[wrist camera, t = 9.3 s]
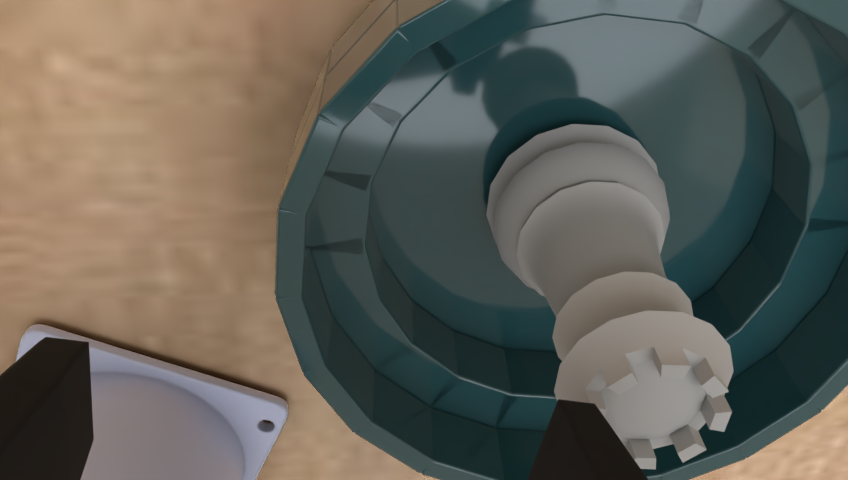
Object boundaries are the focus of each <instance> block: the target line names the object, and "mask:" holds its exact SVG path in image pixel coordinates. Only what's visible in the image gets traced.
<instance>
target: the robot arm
mask: <svg viewBox="0 0 848 480" xmlns="http://www.w3.org/2000/svg"><path fill="white" fill-rule="evenodd" d="M288 410H289V406H288V403H287V402H286V401H285V400H284V399H282V398H280V397H278V396H275V395H271V394H268V393H265V392H262V391H258V390H255V389H252V388H249V387H245V386H242V385H239V384H236V383H232V382H229V381H226V380H223V379H219V378H216V377H213V376H210V375H206V374H203V373H200V372H197V371H193V370H190V369H187V368H184V367H180V366H177V365H174V364H171V363H167V362H164V361H161V360H158V359H154V358H151V357H148V356H145V355H141V354H138V353H135V352H132V351H128V350H125V349H122V348H119V347H115V346H112V345H109V344H106V343H102V342H99V341H96V340H93V339H89V338H86V337H83V336H80V335H76V334H73V333H70V332H67V331H63V330H60V329H57V328H54V327H50V326H47V325H42V324H36V325H32V326H30V327H28V328H27V330H26V331H25V333H24V335H23V336H22V338H21V341H20V345H19V349H18V353H17V356H16V360H15V363H14V364H13V365H12V366H10V367H9V368H8V369H7V370H6V371H5V372H4V373H2V374H1V375H0V480H256V478H257V476H258V474H259V472H260V470H261V468H262V466H263V464H264V462H265V460H266V459H267V457H268V455H269V453H270V451H271V449H272V447H273V445H274V443H275V441H276V439H277V437H278V435H279V433H280V431H281V429H282V427H283V425H284V424H285V422H286V420H287V416H288ZM263 420H269V421H271V423H265V422H263ZM527 480H648V479H647V477H646V476H645V474H644V473H643V472H642V470H641V469H640V467H639V466H638V464H637V463H636V462H635V460H634V459H633V457H632V456H631V455H630V453H629V452H628V450H627V449H626V447H625V446H624V444H623V443H622V442H621V440H620V439H619V437H618V436H617V434H616V433H615V432H614V430H613V429H612V427H611V426H610V424H609V423H608V421H607V420H606V419H605V417H604V416H603V414H602V413H601V411H600V410H599V409H598V407H597V406H596V404H594V403H586V402H577V401H569V400H561V399H558V401H557V404H556V406H555V409H554V411H553V414H552V417H551V419H550V422H549V424H548V427H547V430H546V432H545V435H544V437H543V440H542V443H541V445H540V448H539V450H538V453H537V456H536V458H535V461H534V463H533V466H532V469H531V471H530V474H529V477H528V479H527Z"/></svg>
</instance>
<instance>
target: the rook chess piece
mask: <svg viewBox="0 0 848 480" xmlns="http://www.w3.org/2000/svg"><path fill="white" fill-rule="evenodd" d="M486 215H487V218H488V221H489V224H490V227H491V230H492V233H493V237H494V240H495V242H496V244H497V247H498V250H499V253H500V256H501V259H502V261H503V262H504V263H505V264H506V265H507V267H508V268H509V269H510V270H511V271H512V272H513V273H514V274H515V275H516V276H517V277H518V278H519V279H520V280H521V281H522V282H523V283H524V284H525V285H526V286H528V287H530V288H532V289H535V290H536V291H537V292H538V293H539V294H540V295H542V296H544V297H546V299H547V301H548V303H549V305H550V307H551V309H552V311H553V312H554V314H555V316H556V322H555V327H554V331H553V336H552V338H553V342H554V345H555V348H556V351H557V355H558V357H559V358H560V359H561V360H562V363H561V364H560V366H559V371H558V375H557V380H556V384H555V389H554V393H555V396H556V399H557V401H558V399H561V400H569V401H577V402H586V403H594V404H596V406H597V407H598V409H599V410H600V411H601V413H602V414H603V416H604V417H605V419H606V420H607V421H608V423H609V424H610V426H611V427H612V429H613V430H614V432H615V433H616V434H617V436H618V437H619V439H620V440H621V442H622V443H623V444H624V446H625V447H626V449H627V450H628V452H629V453H630V455H631V456H632V457H633V459H634V460H635V462H636V463H637V464H638V466H639V467H640V469H656V456H655V453H654V451H653V449H655V448H659V447H664V446H668V445H672V444H674V446H675V448H676V451H677V453H678V455H679V457H680V459H681V461H682V462H685V461H687V460H689V459H691V458H693V457H695V456H696V455H698V454H700V453H702V452H704V451H706V450H707V449H706V447H705V445H704V443H703V440H702V438H701V436H700V434H699V430H700V428H701V427H702V426H703V425H704V424H705V423H707V425H708V428H709V429H711V430H716V431H721V432H724V431H725V429H726V426H727V423H728V421H729V418H730V416H731V413H732V410H731V408H730V406H729V404H728V402H727V401H726V399H725V397H724V395H725V393H727V392H729V391H728V389H727V387H728V385H729V382H730V379H731V377H732V374H733V371H734V370H733V363H732V357H731V350H730V345H729V344H728V343H727V342H726V340H725V339H724V338H723V337H722V336H721V334H720V333H719V332H718V331H717V330H716V329H715V327H714V326H713V325H712V324H710V323H707V322H705V321H703V320H700V319H698V318H696V317H693V311H692V305H691V300H690V299H689V298H688V297H687V295H686V294H685V293H684V292H683V291H682V289H681V288H680V287H679V286H678V285H677V284H676V283H675V282H673V281H670V280H668V279H667V277H666V275H665V272H664V268H663V265H662V261H661V257H660V254H661V250H662V246H663V243H664V239H665V235H666V232H667V228H668V225H669V221H670V213H669V206H668V201H667V195H666V190H665V184H664V182H663V180H662V179H661V178H660V177H659V175H658V170H657V165H656V163H655V162H654V161H653V160H652V158H651V157H650V156H649V154H648V153H647V152H646V151H645V149H644V148H643V147H642V145H641V144H640V143H639V142H638V140H636V139H634V138H631V137H629V136H627V135H625V134H623V133H621V132H619V131H617V130H615V129H613V128H611V127H609V126H600V125H583V124H570V125H567V126H564V127H560V128H557V129H554V130H551V131H547V132H544V133H541V134H538V135H536V136H535V137H533V138H532V139H531V140H529V141H528V142H527V143H525V144H524V145H523V146H521V147H520V148H519V149H517V150H516V151H515V152H513V153H512V154H511V155H509V156H508V157H507V159H506V161H505V162H504V164H503V165H502V167H501V169H500V170H499V172H498V174H497V175H496V177H495V178H494V180H493V182H492V183H491V185H490V192H489V199H488V207H487V214H486Z"/></svg>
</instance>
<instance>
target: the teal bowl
mask: <svg viewBox="0 0 848 480" xmlns="http://www.w3.org/2000/svg"><path fill="white" fill-rule="evenodd" d="M570 124H583V125H600V126H609V127H611V128H613V129H615V130H617V131H619V132H621V133H623V134H625V135H627V136H629V137H631V138H634V139H636V140H638V142H639V143H640V144H641V145H642V147H643V148H644V149H645V151H646V152H647V153H648V154H649V156H650V157H651V158H652V160H653V161H654V162H655V163H656V165H657V170H658V175H659V177H660V178H661V179H662V180H663V182H664V184H665V190H666V195H667V201H668V206H669V213H670V221H669V225H668V228H667V232H666V235H665V239H664V243H663V246H662V250H661V254H660V257H661V261H662V265H663V268H664V272H665V275H666V277H667V279H668V280H670V281H673V282H675V283H676V284H677V285H678V286H679V287H680V288H681V289H682V291H683V292H684V293H685V294H686V295H687V297H688V298H689V299H690V300H691V305H692V311H693V317H696V318H698V319H700V320H703V321H705V322H707V323H710V324H712V325H713V326H714V327H715V329H716V330H717V331H718V332H719V333H720V334H721V336H722V337H723V338H724V339H725V340H726V342H727V343H728V344H729V345H730V350H731V357H732V363H733V370H734V371H733V374H732V377H731V379H730V382H729V385H728V387H727V389H728V391H729V392H727V393H725V395H724V397H725V399H726V401H727V402H728V404H729V406H730V408H731V410H732V413H731V416H730V418H729V421H728V423H727V426H726V429H725V431H724V432H721V431H716V430H711V429H709V428H708V425H707V423H705V424H704V425H703V426H702V427H701V428H700V430H699V434H700V436H701V438H702V440H703V443H704V445H705V447H706V449H707V450H706V451H704V452H702V453H700V454H698V455H696V456H695V457H693V458H691V459H689V460H687V461H685V462H682V461H681V459H680V457H679V455H678V453H677V451H676V448H675V446H674V444H672V445H668V446H664V447H659V448H655V449H653V451H654V453H655V456H656V469H641V470H642V472H643V473H644V474H645V476H646V477H647V479H648V480H689V479H692V478H695V477H698V476H700V475H703V474H706V473H708V472H711V471H714V470H717V469H719V468H722V467H725V466H727V465H730V464H733V463H736V462H738V461H741V460H744V459H745V457H746V458H748V457H750V456H751V455H753V454H755V453H756V452H758V451H759V450H761V449H763V448H764V447H766V446H767V445H769V444H771V443H772V442H774V441H775V440H777V439H779V438H780V437H782V436H783V435H785V434H787V433H788V432H790V431H791V430H793V429H795V428H796V427H798V426H799V425H801V424H803V423H804V422H806V421H807V420H809V419H811V418H812V417H814V416H815V415H817V414H819V413H820V412H821V410H823V409H824V408H825V407H826V406H827V405H828V404H829V403H830V402H831V401H832V400H833V399H834V398H835V397H836V396H837V395H838V394H839V393H840V392H841V391H842V390H843V389H844V388H845V387H846V386H847V385H848V0H373V1H372V3H371V4H370V5H369V6H368V7H367V8H366V9H365V11H364V12H363V13H362V14H361V15H360V16H359V17H358V18H357V20H356V21H355V22H354V23H353V24H352V25H351V26H350V27H349V29H348V30H347V31H346V32H345V33H344V34H343V35H342V36H341V38H340V39H339V40H338V41H337V42H336V43H335V44H334V46H333V49H332V50H331V51H330V52H329V54H328V57H327V59H326V61H325V64H324V66H323V69H322V71H321V73H320V76H319V78H318V81H317V83H316V85H315V88H314V90H313V93H312V95H311V98H310V100H309V102H308V105H307V107H306V110H305V112H304V114H303V117H302V119H301V122H300V124H299V127H298V130H297V134H296V137H295V141H294V145H293V149H292V153H291V157H290V161H289V165H288V169H287V173H286V177H285V181H284V185H283V189H282V193H281V197H280V200H279V205H278V209H277V236H276V270H275V295H276V301H277V304H278V307H279V309H280V312H281V315H282V317H283V320H284V323H285V326H286V328H287V331H288V334H289V336H290V339H291V342H292V345H293V347H294V350H295V353H296V355H297V358H298V361H299V364H300V366H301V369H302V371H303V372H304V376H305V377H306V378H307V379H308V380H309V381H310V383H311V384H312V385H313V386H314V387H315V388H316V390H317V391H318V392H319V393H320V394H321V395H322V397H323V398H324V399H325V400H326V401H327V402H328V404H329V405H330V406H331V407H332V408H333V409H334V411H335V412H336V413H337V414H338V415H339V416H340V418H341V419H342V420H343V421H344V422H345V423H346V425H347V426H348V427H349V428H350V429H351V430H352V432H355V433H356V434H357V435H358V436H360V437H362V438H363V439H365V440H366V441H368V442H370V443H371V444H373V445H375V446H376V447H378V448H379V449H381V450H383V451H384V452H386V453H388V454H389V455H391V456H392V457H394V458H396V459H397V460H399V461H401V462H402V463H404V464H405V465H407V466H409V467H410V468H412V469H414V470H415V471H417V472H418V473H422V474H423V475H426V476H430V477H433V478H437V479H440V480H527V479H528V477H529V474H530V471H531V469H532V466H533V463H534V461H535V458H536V456H537V453H538V450H539V448H540V445H541V443H542V440H543V437H544V435H545V432H546V430H547V427H548V424H549V422H550V419H551V417H552V414H553V411H554V409H555V406H556V404H557V399H556V396H555V393H554V389H555V384H556V380H557V375H558V371H559V366H560V364H561V363H562V360H561V359H560V358H559V357H558V355H557V351H556V348H555V345H554V342H553V338H552V336H553V331H554V327H555V322H556V316H555V314H554V312H553V311H552V309H551V307H550V305H549V303H548V301H547V299H546V297H544V296H542V295H540V294H539V293H538V292H537V291H536V290H535V289H532V288H530V287H528V286H526V285H525V284H524V283H523V282H522V281H521V280H520V279H519V278H518V277H517V276H516V275H515V274H514V273H513V272H512V271H511V270H510V269H509V268H508V267H507V265H506V264H505V263H504V262H503V261H502V259H501V256H500V253H499V250H498V247H497V244H496V242H495V240H494V237H493V233H492V230H491V227H490V224H489V221H488V218H487V215H486V214H487V207H488V199H489V192H490V185H491V183H492V182H493V180H494V178H495V177H496V175H497V174H498V172H499V170H500V169H501V167H502V165H503V164H504V162H505V161H506V159H507V157H508V156H509V155H511V154H512V153H513V152H515V151H516V150H517V149H519V148H520V147H521V146H523V145H524V144H525V143H527V142H528V141H529V140H531V139H532V138H533V137H535V136H536V135H538V134H541V133H544V132H547V131H551V130H554V129H557V128H560V127H564V126H567V125H570Z"/></svg>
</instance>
